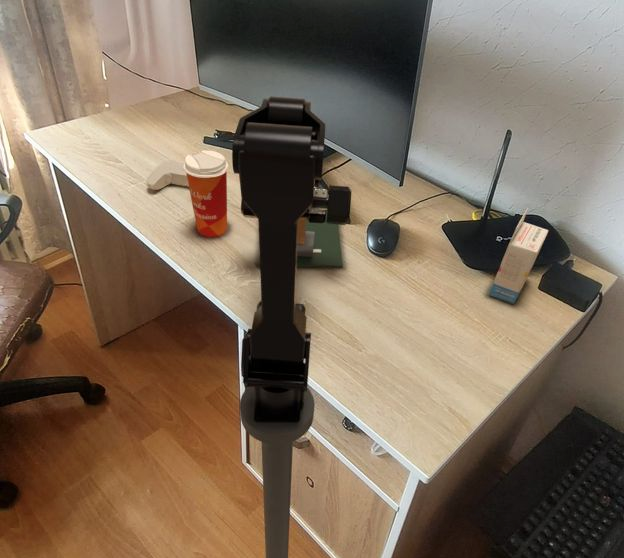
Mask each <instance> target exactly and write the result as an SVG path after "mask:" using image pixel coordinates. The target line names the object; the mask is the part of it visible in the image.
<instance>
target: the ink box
mask: <svg viewBox="0 0 624 558" xmlns="http://www.w3.org/2000/svg"><path fill="white" fill-rule="evenodd" d="M529 209H530V207H527V208H526V209H525V211H524V213H523V215H522V216H521V218H520V220H519V222H518V223H517V226H516V227H515V229H514V232H513V234H512V237H511V239H510V240H509V243H508V245H507V247H506V251H505V253H504V255H503V258H502V260H501V262H500V266H499V268H498V271H497V272H496V275H495V277H494V280H493V283H492V286H491V288H490V291H489V294H488V295H489V296H490V297H493V298H495V299H499V300H501V301H504V302H506V303H509V304H512V305H514V304H515V302H516V300H517V298H518V296H519V295H520V293H521V291H522V289H523V287H524V285H525V283H526V281H527V278H528V277H529V274H530V273H531V270H532V268H533V267H534V264H535V262H536V259H537V257H538V255H539V253H540V251H541V249H542V246H543V244H544V241H545V240H546V238H547V236H548V233H549V229H547V228H543V227H540V226H537V225H534V224H531V223H528V222H525V221H524V220H525V218H526V216H527V213H528V211H529Z"/></svg>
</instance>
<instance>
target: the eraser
mask: <svg viewBox="0 0 624 558" xmlns="http://www.w3.org/2000/svg"><path fill="white" fill-rule="evenodd" d="M306 219H307V218H300V219H299V220H298V246H297V256H303V257H312V256H313V247H314V235H315V232H310V231H306Z"/></svg>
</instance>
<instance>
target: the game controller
mask: <svg viewBox="0 0 624 558" xmlns="http://www.w3.org/2000/svg"><path fill="white" fill-rule="evenodd" d="M184 163H185V162H178V161H177V160H166V161H163V162H162V163H160V164H159V165H158V166H157V167H155V168H154V169H153V170H152V171H151V172H150V173H149V175H148V176H147V178H146V186H147V187H148V188H149V189H150V190H155V191H158V190H161V189H163V188H164V187H166V186H169V185H170V184H172V185H177V186H183V187H188V188H189V185H188V180H187V174H186V172H185V171H184V168H183V166H184Z"/></svg>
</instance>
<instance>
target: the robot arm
mask: <svg viewBox="0 0 624 558" xmlns="http://www.w3.org/2000/svg"><path fill="white" fill-rule="evenodd" d="M311 110H312V101H307V100H306V99H305V98H297V97H284V96H272V95H271V96H270V97H268V98H263V99H262V102H261V106H260V107H258V108H256V109H254V110H253V111H251V112H248V113H246V114H244V115H243V116H242V117H241V116H240V118H239V120H238V122H237V125H236V129H235V132H234V134H233V139H232V147H231V149H232V150H231V163H232V171H233V173H234V174H235V175H238V178H239V187H240V198H241V200H240V213H241V215H243V217H244V218H247V219H248V218H249V219H257V221H258V243H259V244H258V245H259V246H258V247H259V258H260V266H259V270H260V275H259V276H260V301H259V302H258V303H257V305H256V310H255V311H254V313H253V319H252V324H251V328H248V329H247V331H246V334H245V337H243V338H242V340H241V359H240V373H241V374H240V375H241V377H242V384H243V387H245V388H247V387H254V397H255V404H254V421H255V422H299V421H300V409H303V408H304V393H305V391H307V388H308V384H309V383H308V382H309V371H310V370H309V367H310V355H311V354H310V353H311V338H312V332H307V321H308V318H307V314H306V311H307V310H306V307H305V305H304V304H303V303H297V301H296V299H297V271H298V267H297V246H298V220H299V219H300V218H307V220H308V221H309V222H310V223H324V222H325V221H326V223H329V224H337V225H338V226H339V225H340V226H346V225H348V223H350V217H351V207H352V206H351V205H352V189H351V188H350V186H346V185H345V186H344V185H331V184H329V185H328V189H325V188H319V187H320V181H322V180H323V169H324V167H323V166H324V155H325V154H324V153H325V140H326V123H325V122H324V121H322V120H321V118H319V117H318V116H317V115H316V114H315V113H314V112H312V111H311ZM326 211H327V220H326ZM256 418H259V419H256ZM295 418H298V419H295Z"/></svg>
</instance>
